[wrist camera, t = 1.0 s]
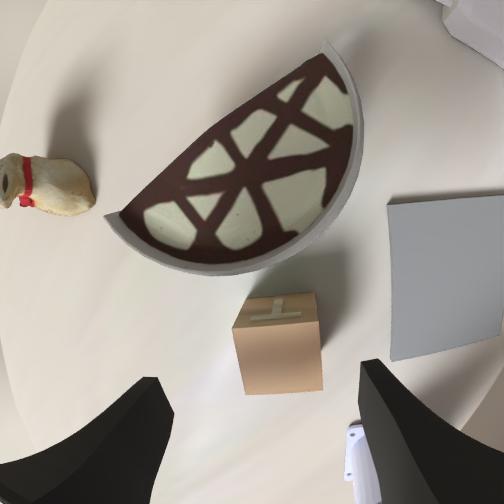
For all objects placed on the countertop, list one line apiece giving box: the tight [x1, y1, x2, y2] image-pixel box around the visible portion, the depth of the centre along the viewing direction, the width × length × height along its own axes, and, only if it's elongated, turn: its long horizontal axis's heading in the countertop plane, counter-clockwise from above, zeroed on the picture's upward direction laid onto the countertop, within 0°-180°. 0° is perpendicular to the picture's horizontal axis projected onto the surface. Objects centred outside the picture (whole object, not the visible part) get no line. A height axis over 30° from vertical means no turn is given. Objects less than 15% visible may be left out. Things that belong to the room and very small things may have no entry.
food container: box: [103, 39, 364, 276], centre depth 15 cm, size 12×6×10 cm, turn 127°
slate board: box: [387, 195, 504, 362], centre depth 19 cm, size 12×11×1 cm
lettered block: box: [232, 292, 323, 395], centre depth 20 cm, size 5×5×5 cm
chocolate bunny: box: [0, 153, 96, 216], centre depth 18 cm, size 6×8×10 cm
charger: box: [435, 0, 504, 69], centre depth 12 cm, size 5×9×15 cm
